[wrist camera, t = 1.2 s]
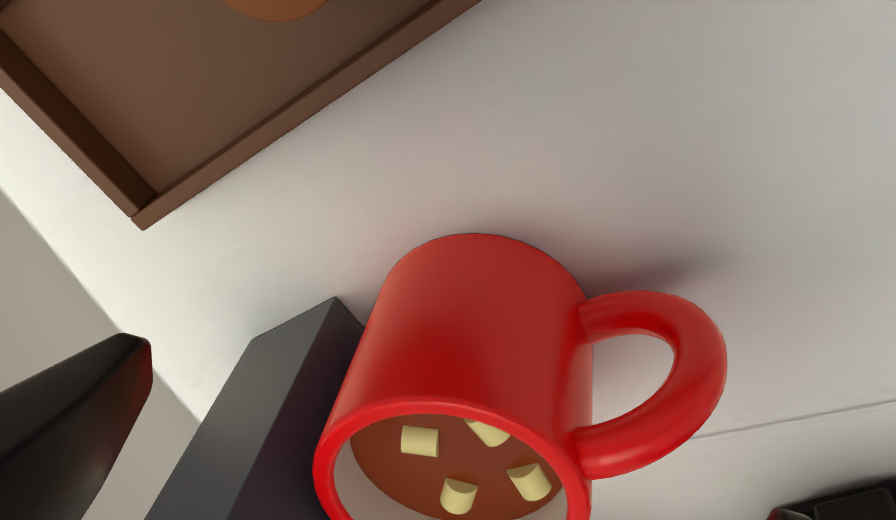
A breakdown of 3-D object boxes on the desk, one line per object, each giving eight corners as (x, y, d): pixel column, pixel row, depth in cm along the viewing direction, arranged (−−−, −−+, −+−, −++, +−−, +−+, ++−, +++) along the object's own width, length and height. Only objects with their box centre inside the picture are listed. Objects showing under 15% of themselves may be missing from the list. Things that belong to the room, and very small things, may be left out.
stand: (408, 378, 29) (318, 674, 20) (323, 415, 31) (205, 699, 22) (335, 295, 27) (197, 577, 18) (250, 340, 29) (86, 614, 20)
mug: (740, 346, 25) (788, 543, 19) (439, 422, 30) (396, 602, 24) (664, 155, 22) (692, 317, 16) (338, 274, 27) (256, 437, 20)
